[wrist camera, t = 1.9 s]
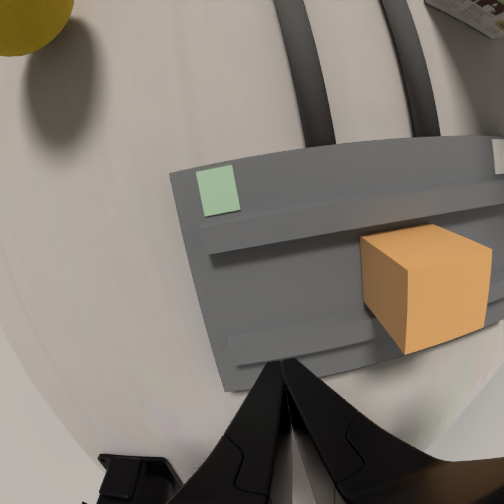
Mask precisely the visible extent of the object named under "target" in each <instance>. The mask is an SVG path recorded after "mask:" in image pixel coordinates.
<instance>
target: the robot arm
mask: <svg viewBox="0 0 504 504" xmlns="http://www.w3.org/2000/svg"><path fill="white" fill-rule="evenodd" d="M281 364H282V366H281ZM282 370H283V371H282ZM283 376H284V377H283ZM284 382H285V383H284ZM285 388H286V389H285ZM286 394H287V395H286ZM287 400H288V401H287ZM288 406H289V407H288ZM289 412H290V414H289ZM290 418H291V420H290ZM291 424H292V427H291ZM292 429H293V433H294V436H295V439H296V442H297V445H298V448H299V451H300V455H301V458H302V461H303V464H304V467H305V470H306V473H307V476H308V479H309V482H310V485H311V488H312V491H313V494H314V497H315V500H316V503H317V504H504V457H501V458H492V459H483V460H472V461H457V462H451V461H444V460H440V459H437V458H434V457H432V456H430V455H428V454H426V453H424V452H422V451H420V450H419V449H417V448H415V447H413V446H411V445H409V444H408V443H406V442H404V441H402V440H400V439H399V438H397V437H395V436H393V435H392V434H390V433H388V432H387V431H385V430H384V429H382V428H380V427H379V426H378V425H376V424H375V423H374V422H372V421H371V420H369V419H368V418H367V417H366V416H364V415H363V414H362V413H361V412H358V410H357V409H356V408H354V407H353V406H352V405H351V404H349V403H348V402H347V401H346V400H345V399H343V398H342V397H341V396H340V395H339V394H337V393H336V392H335V391H334V390H333V389H331V388H330V387H329V386H328V385H327V384H325V383H324V382H323V381H322V380H321V379H319V378H318V377H317V376H316V375H315V374H314V373H312V372H311V371H310V370H309V369H308V368H307V367H305V366H304V365H303V364H302V363H301V362H300V361H298V360H297V359H296V358H288V359H283V360H282V361H279V360H277V361H271V362H267V363H266V364H265V366H264V368H263V369H262V371H261V373H260V374H259V376H258V378H257V380H256V381H255V383H254V385H253V387H252V388H251V390H250V392H249V393H248V395H247V397H246V398H245V400H244V402H243V403H242V405H241V407H240V408H239V410H238V412H237V413H236V415H235V417H234V418H233V420H232V421H231V423H230V425H229V426H228V428H227V429H226V431H225V433H224V435H223V436H222V437H221V439H220V440H219V442H218V444H217V445H216V447H215V448H214V449H213V451H212V452H211V454H210V455H209V457H208V458H207V459H206V460H205V461H204V463H203V464H202V465H201V466H200V467H199V469H198V470H197V471H196V472H195V473H194V474H193V475H192V477H191V478H190V479H189V480H188V481H187V482H186V483H185V484H184V485H182V483H181V482H180V480H179V479H178V477H177V476H176V474H175V473H174V471H173V470H172V468H171V467H170V465H169V463H168V462H167V460H166V459H164V458H160V457H136V456H121V455H109V454H99V456H98V460H99V461H100V463H101V464H102V465H103V466H104V468H105V469H106V470H107V471H106V474H105V477H104V479H103V482H102V485H101V487H100V490H99V493H100V495H99V498H98V501H97V504H292ZM82 504H87V503H85V502H82Z"/></svg>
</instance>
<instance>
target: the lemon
mask: <svg viewBox="0 0 504 504" xmlns="http://www.w3.org/2000/svg"><path fill="white" fill-rule="evenodd" d="M73 4H74V0H0V56H8V57H10V56H23V55H26V54H29V53H32V52H35V51H37V50H39V49H40V48H42V47H44V46H46V45H47V44H48V43H50V42H51V41H52V40H53V39H54V38H55V37H56V36H57V35H58V34H59V33H60V32H61V31H62V29H63V28H64V26H65V25H66V23H67V21H68V19H69V17H70V15H71V12H72V8H73Z"/></svg>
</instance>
